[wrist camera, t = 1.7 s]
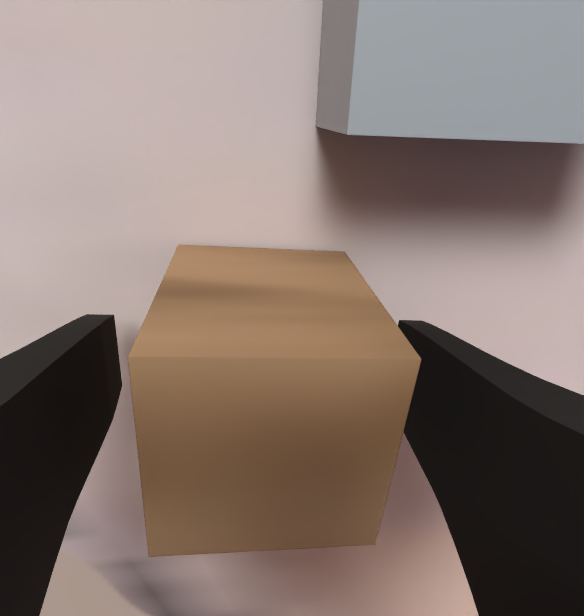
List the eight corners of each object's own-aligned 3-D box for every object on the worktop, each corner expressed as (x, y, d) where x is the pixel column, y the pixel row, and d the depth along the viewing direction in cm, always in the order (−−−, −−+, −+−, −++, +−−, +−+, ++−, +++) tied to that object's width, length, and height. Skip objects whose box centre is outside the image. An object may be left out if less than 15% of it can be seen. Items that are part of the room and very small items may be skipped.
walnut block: (326, 385, 14) (375, 544, 9) (183, 385, 13) (148, 557, 8) (344, 251, 12) (421, 359, 7) (178, 244, 11) (127, 356, 6)
